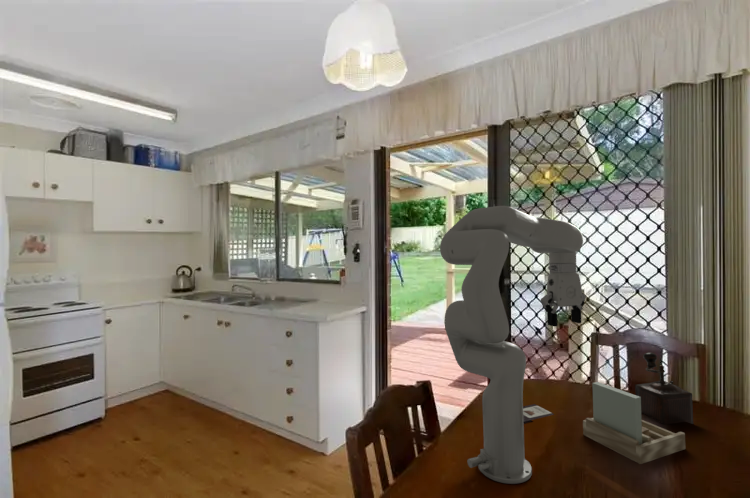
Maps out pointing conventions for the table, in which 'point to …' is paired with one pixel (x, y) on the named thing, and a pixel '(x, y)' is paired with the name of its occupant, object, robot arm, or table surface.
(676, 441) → the rack
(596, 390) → the sheet
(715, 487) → the table surface
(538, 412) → the chocolate bar
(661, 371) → the dark brown coffee grinder
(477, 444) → the table surface
